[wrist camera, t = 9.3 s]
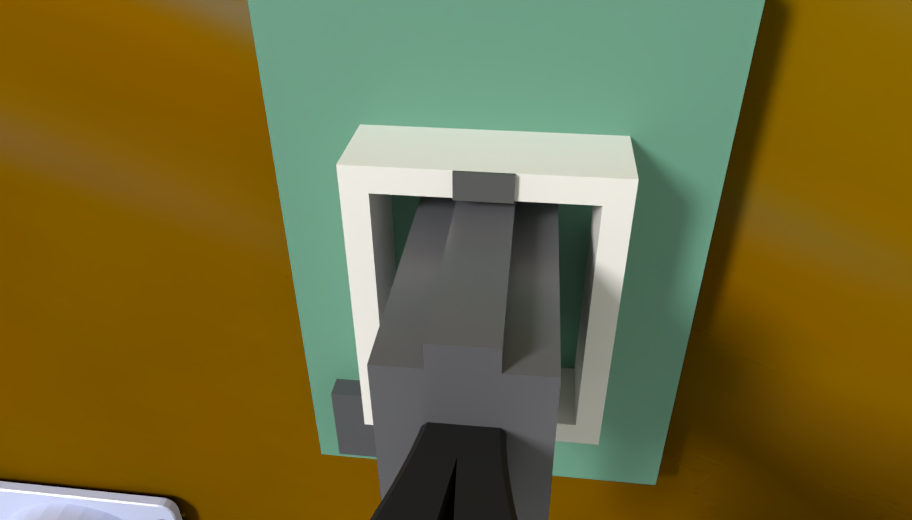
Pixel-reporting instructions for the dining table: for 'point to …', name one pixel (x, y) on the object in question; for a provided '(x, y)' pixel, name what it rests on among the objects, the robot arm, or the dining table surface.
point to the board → (509, 181)
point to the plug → (474, 338)
